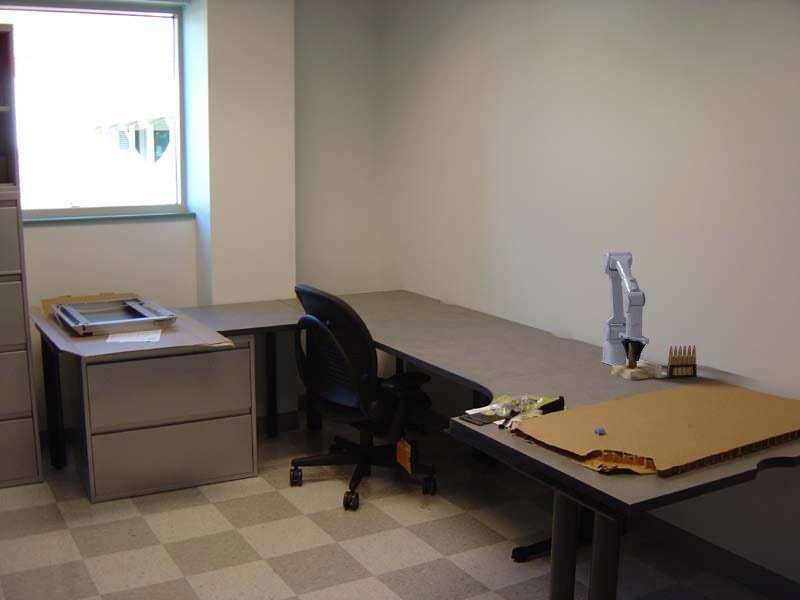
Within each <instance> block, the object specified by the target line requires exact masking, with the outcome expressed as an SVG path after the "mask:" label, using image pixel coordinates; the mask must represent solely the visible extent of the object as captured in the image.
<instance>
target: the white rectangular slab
mask: <svg viewBox="0 0 800 600" xmlns="http://www.w3.org/2000/svg"><path fill="white" fill-rule="evenodd" d="M628 361H629V360H628V359H627V357H626V364H628ZM637 364H640V365H643V366H646V367H650V368H653V369H655V377H654V378H656V379H661V378H667V372H664V371H662V369H663V365H662V364H658V363H654V362H651V361H649V360H648V361H647V360H644V359H641V358H640V359H639V361H637Z"/></svg>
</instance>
